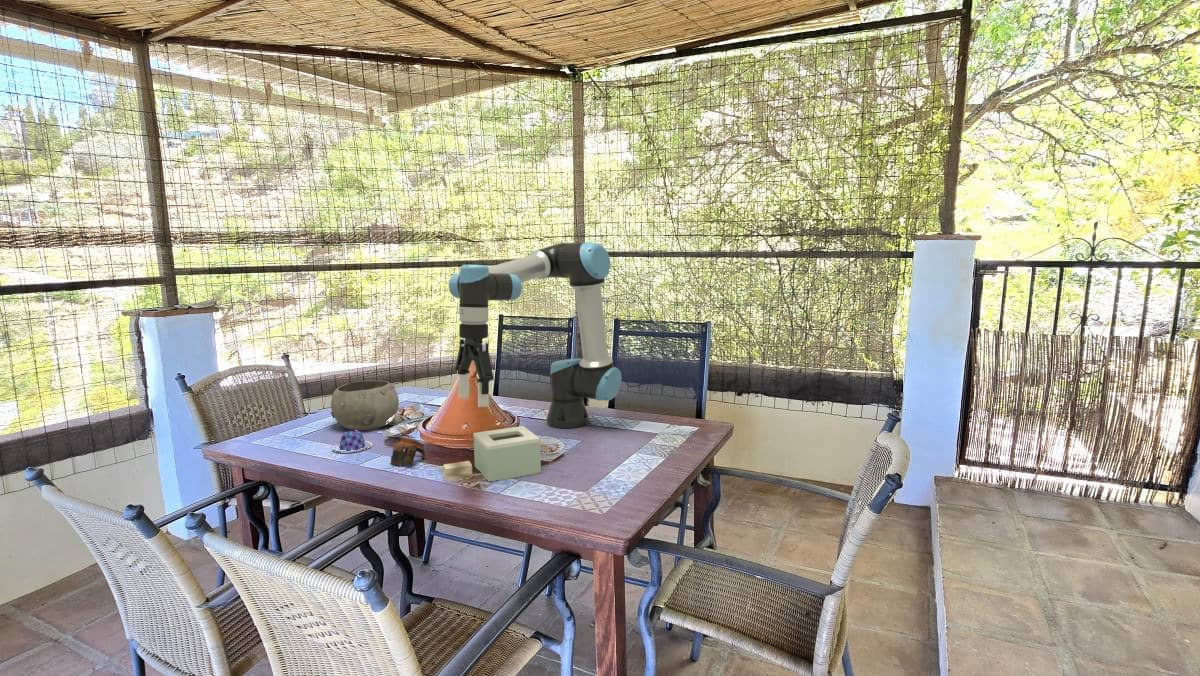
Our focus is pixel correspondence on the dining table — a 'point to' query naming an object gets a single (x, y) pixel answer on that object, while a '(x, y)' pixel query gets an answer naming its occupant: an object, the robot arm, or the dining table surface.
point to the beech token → (457, 471)
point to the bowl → (364, 404)
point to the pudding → (352, 441)
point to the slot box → (507, 453)
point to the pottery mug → (406, 451)
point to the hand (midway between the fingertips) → (473, 402)
